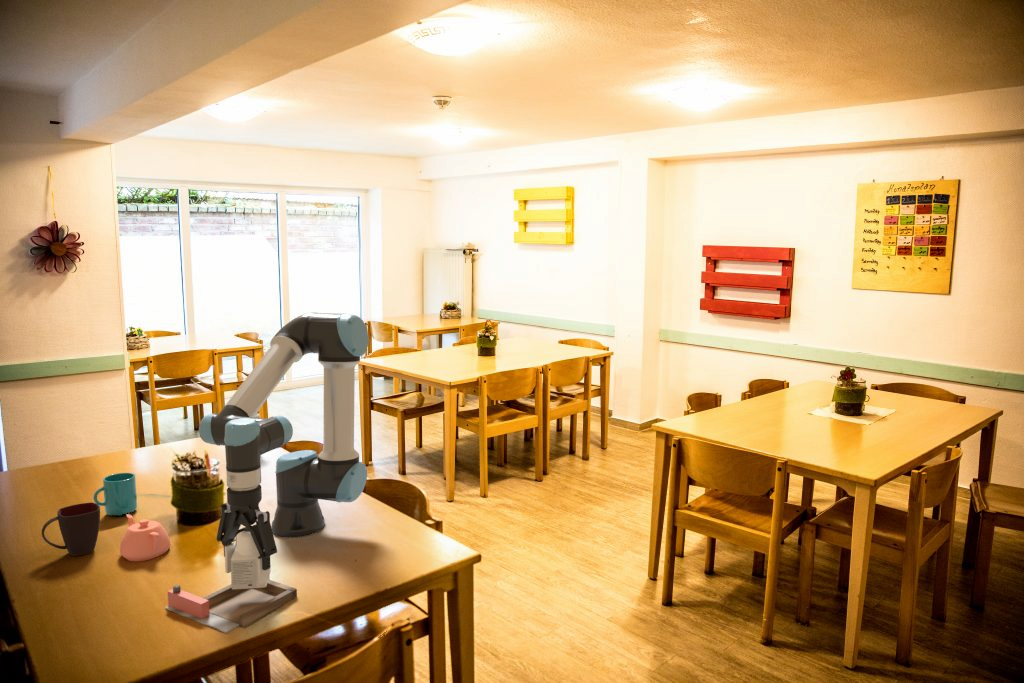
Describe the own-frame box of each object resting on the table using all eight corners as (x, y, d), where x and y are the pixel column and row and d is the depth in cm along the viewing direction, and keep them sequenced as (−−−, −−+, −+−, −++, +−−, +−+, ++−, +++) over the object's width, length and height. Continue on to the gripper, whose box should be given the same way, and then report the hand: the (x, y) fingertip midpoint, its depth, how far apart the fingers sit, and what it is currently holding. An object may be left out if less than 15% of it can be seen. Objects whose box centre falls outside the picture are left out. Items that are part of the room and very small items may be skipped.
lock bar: (168, 605, 166) (167, 586, 165) (176, 601, 168) (174, 582, 167) (201, 618, 160) (201, 599, 160) (209, 614, 162) (208, 595, 161)
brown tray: (165, 608, 165) (164, 598, 165) (233, 576, 182) (232, 567, 181) (231, 635, 154) (230, 624, 154) (297, 598, 171) (296, 588, 170)
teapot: (136, 569, 185) (134, 535, 184) (107, 550, 196) (105, 518, 195) (182, 554, 195) (180, 521, 193) (151, 537, 206) (149, 505, 204)
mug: (106, 552, 195) (103, 510, 194) (46, 566, 186) (43, 522, 185) (98, 540, 203) (95, 500, 201) (40, 553, 194) (37, 512, 192)
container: (237, 574, 171) (235, 523, 169) (270, 572, 173) (269, 522, 171) (231, 590, 164) (229, 537, 162) (266, 587, 165) (265, 535, 163)
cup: (91, 512, 224) (89, 478, 222) (133, 503, 232) (131, 470, 230) (98, 521, 217) (95, 485, 216) (140, 511, 225) (138, 477, 224)
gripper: (197, 481, 166) (201, 571, 169) (266, 499, 155) (269, 594, 158) (224, 473, 173) (227, 559, 176) (292, 489, 162) (294, 581, 164)
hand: (247, 576), depth 167 cm, fingers closed on container, 10 cm apart
